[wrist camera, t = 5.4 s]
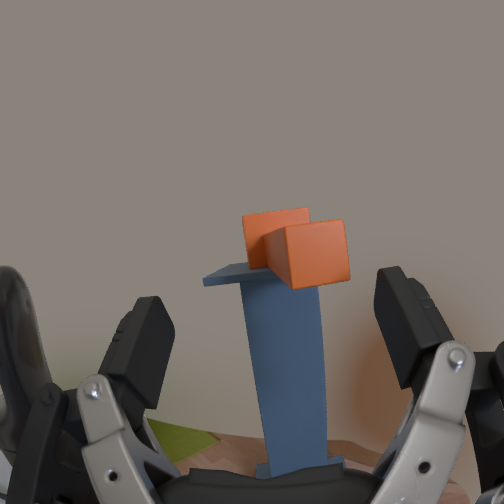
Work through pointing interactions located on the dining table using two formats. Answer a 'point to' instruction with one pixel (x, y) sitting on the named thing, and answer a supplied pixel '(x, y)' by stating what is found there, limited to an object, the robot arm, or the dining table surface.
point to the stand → (284, 367)
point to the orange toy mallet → (297, 247)
